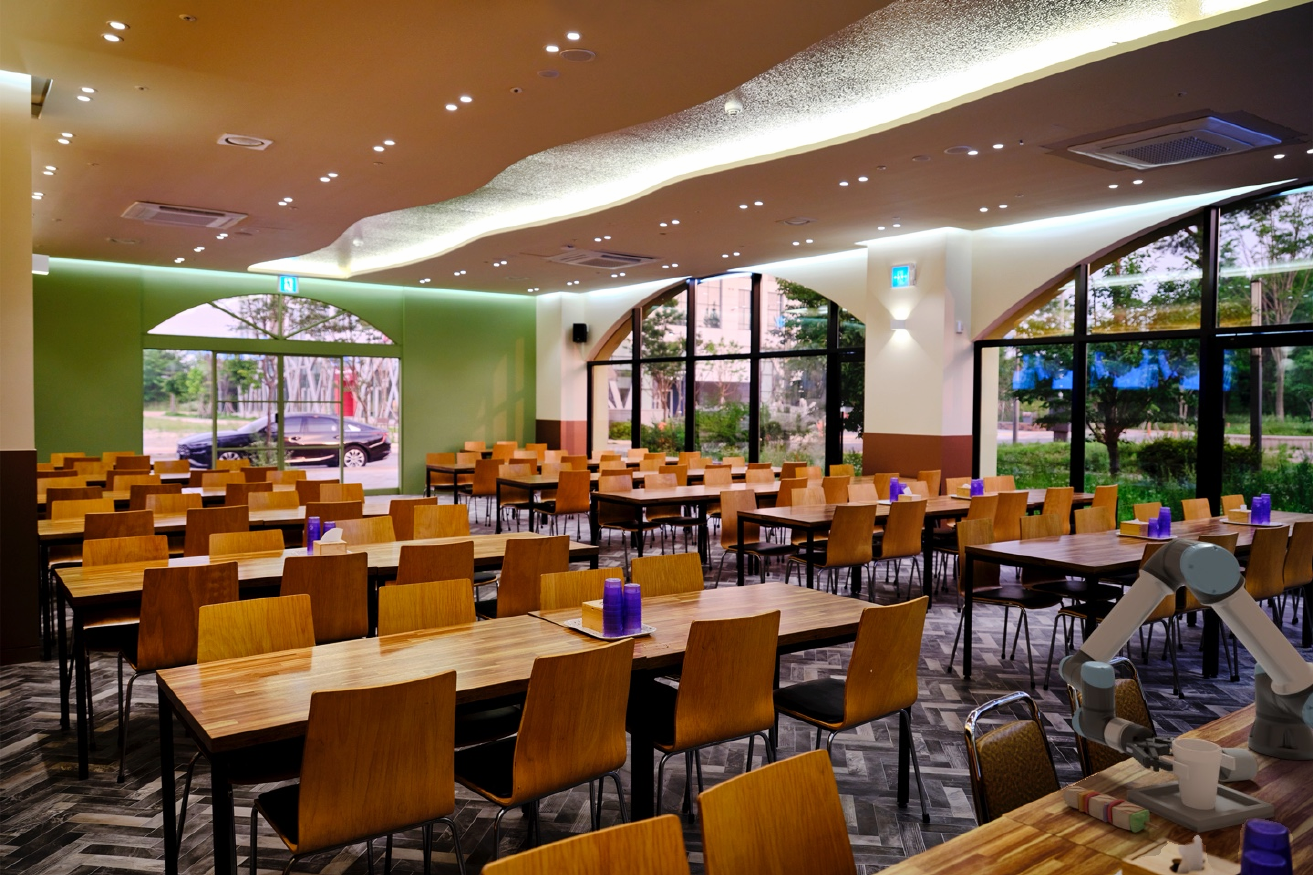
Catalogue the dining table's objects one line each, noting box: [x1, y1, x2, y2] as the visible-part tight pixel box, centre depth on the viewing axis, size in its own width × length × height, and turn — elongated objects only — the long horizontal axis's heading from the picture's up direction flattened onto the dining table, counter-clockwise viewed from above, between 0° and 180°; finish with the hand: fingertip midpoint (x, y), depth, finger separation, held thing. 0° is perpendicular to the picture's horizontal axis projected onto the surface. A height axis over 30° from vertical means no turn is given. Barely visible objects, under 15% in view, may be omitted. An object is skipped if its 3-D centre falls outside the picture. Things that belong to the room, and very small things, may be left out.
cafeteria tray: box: [1126, 779, 1275, 834], centre depth 200 cm, size 22×18×2 cm
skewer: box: [1063, 785, 1161, 833], centre depth 195 cm, size 21×6×5 cm, turn 29°
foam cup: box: [1171, 737, 1223, 810], centre depth 200 cm, size 10×9×13 cm
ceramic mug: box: [1218, 747, 1260, 783], centre depth 218 cm, size 11×8×8 cm
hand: (1211, 768), depth 197 cm, fingers open, 13 cm apart
